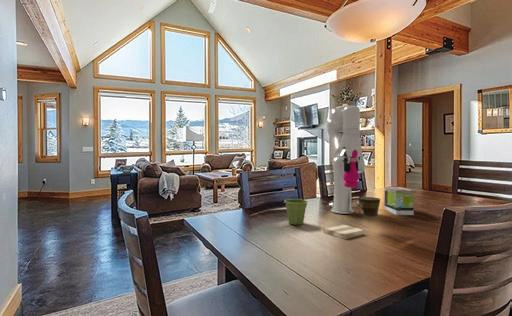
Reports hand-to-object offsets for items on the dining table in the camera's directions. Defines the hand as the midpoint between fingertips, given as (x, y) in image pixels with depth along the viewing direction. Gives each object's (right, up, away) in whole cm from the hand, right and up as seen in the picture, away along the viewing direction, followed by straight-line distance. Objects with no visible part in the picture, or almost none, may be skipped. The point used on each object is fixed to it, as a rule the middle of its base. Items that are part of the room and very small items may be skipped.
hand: (351, 170), depth 135 cm
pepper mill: (0, -8, 0) cm, 8 cm away
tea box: (+36, -26, +26) cm, 51 cm away
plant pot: (-25, -27, +6) cm, 37 cm away
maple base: (-7, -27, -12) cm, 30 cm away
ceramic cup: (+16, -26, +20) cm, 37 cm away
